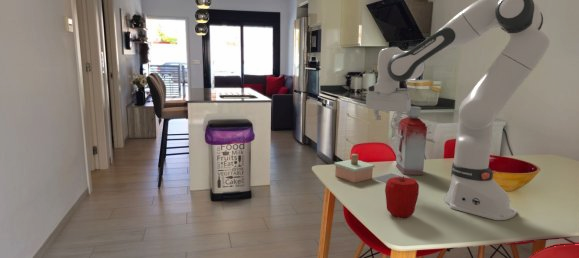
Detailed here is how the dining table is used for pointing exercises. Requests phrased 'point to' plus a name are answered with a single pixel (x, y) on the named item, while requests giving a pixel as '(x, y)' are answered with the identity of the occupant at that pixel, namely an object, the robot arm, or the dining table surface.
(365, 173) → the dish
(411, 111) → the bottle
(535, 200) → the dining table surface
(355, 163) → the lid
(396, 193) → the apple
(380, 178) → the mat
